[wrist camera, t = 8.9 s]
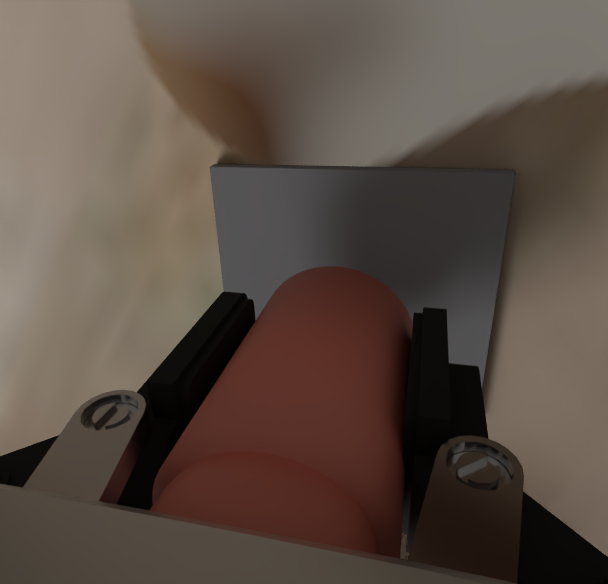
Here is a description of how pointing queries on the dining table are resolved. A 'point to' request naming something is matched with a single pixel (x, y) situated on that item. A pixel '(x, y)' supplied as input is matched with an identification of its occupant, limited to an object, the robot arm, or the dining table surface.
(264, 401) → the pawn
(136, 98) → the dining table surface
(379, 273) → the coaster
